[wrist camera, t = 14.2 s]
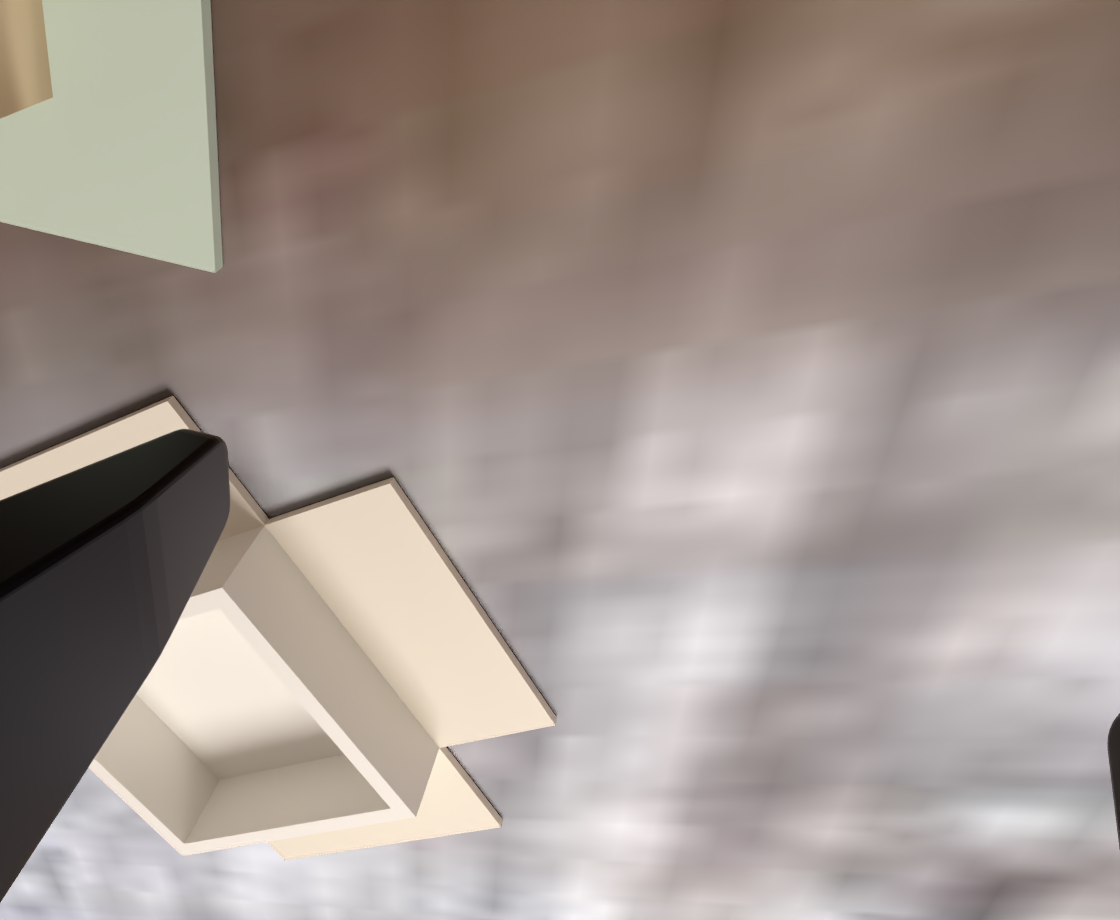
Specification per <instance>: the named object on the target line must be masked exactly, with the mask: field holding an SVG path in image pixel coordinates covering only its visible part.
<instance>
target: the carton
mask: <svg viewBox="0 0 1120 920" xmlns="http://www.w3.org/2000/svg"><path fill="white" fill-rule="evenodd" d="M179 429H190V430H194V431H198V432H201V431H200V429H199V428H198V427H197V426H196V424H195V423H194V422H193V420H192V419H191V418H190V417H189V415H188V414H187V413H186V411H185V410H184V409H183V408H182V406H181V405H180V404H179V402H178V401H177V400H176V399H175V397H174V396H171V397H168V398H166V399H164V400H161V401H159V402H157V403H154V404H152V405H149V406H147V407H145V408H142V409H140V410H138V411H135V412H133V413H131V414H128V415H126V416H124V417H121V418H119V419H117V420H114V421H112V422H110V423H107V424H105V425H102V426H100V427H98V428H95V429H93V430H91V431H88V432H86V433H84V434H81V435H79V436H77V437H74V438H72V439H70V440H67V441H65V442H63V443H60V444H58V445H55V446H53V447H51V448H48V449H46V450H44V451H41V452H39V453H37V454H34V455H32V456H30V457H27V458H25V459H23V460H20V461H18V462H15V463H13V464H11V465H8V466H6V467H4V468H1V469H0V500H2V499H5V498H7V497H10V496H12V495H15V494H17V493H20V492H22V491H25V490H27V489H30V488H32V487H35V486H37V485H40V484H42V483H45V482H47V481H50V480H52V479H55V478H57V477H60V476H62V475H65V474H67V473H70V472H72V471H75V470H77V469H80V468H83V467H85V466H88V465H90V464H93V463H95V462H98V461H100V460H103V459H105V458H108V457H110V456H113V455H115V454H118V453H120V452H123V451H125V450H128V449H130V448H133V447H135V446H138V445H140V444H143V443H145V442H148V441H150V440H153V439H155V438H158V437H160V436H163V435H165V434H168V433H170V432H173V431H176V430H179ZM229 484H230V512H229V516H228V520H227V523H226V526H225V528H224V530H223V532H222V534H221V536H220V538H219V540H218V542H217V544H216V546H215V548H214V550H213V552H212V554H211V556H210V558H209V560H208V562H207V564H206V566H205V568H204V570H203V572H202V574H201V576H200V578H199V580H198V582H197V584H196V586H195V588H194V590H193V592H192V594H191V597H190V599H189V601H188V603H187V605H186V607H185V609H184V611H183V613H182V615H181V617H180V619H179V621H178V623H177V625H176V627H175V629H174V631H173V633H172V635H171V637H170V639H169V640H168V642H167V644H166V646H165V648H164V650H163V652H162V654H161V655H160V657H159V659H158V660H157V662H156V664H155V665H154V667H153V668H152V670H151V672H150V673H149V675H148V677H147V678H146V680H145V681H144V683H143V684H142V686H141V687H140V689H139V690H138V692H137V694H136V695H135V697H134V698H133V700H132V701H131V703H130V704H129V706H128V707H127V709H126V710H125V712H124V713H123V715H122V717H121V718H120V720H119V721H118V723H117V724H116V726H115V727H114V729H113V730H112V732H111V733H110V735H109V736H108V738H107V740H106V741H105V743H104V744H103V746H102V747H101V749H100V750H99V752H98V753H97V755H96V756H95V758H94V760H93V761H92V763H91V764H90V766H89V767H88V768H89V769H90V770H91V771H93V772H94V773H95V774H96V775H97V776H98V777H99V778H100V779H101V780H102V781H103V782H104V783H105V784H106V785H107V786H109V787H110V788H111V789H112V790H113V791H114V792H115V793H116V794H117V795H118V796H119V797H120V798H121V799H122V800H123V801H125V802H126V803H127V804H128V805H129V806H130V807H131V808H132V809H133V810H134V811H135V812H136V813H137V814H138V815H139V816H140V817H142V818H143V819H144V820H145V821H146V822H147V823H148V824H149V825H150V826H151V827H152V828H153V829H154V830H155V831H156V832H158V833H159V834H160V835H161V836H162V837H163V838H164V839H165V840H166V841H167V842H168V843H169V844H170V845H171V846H172V847H174V848H175V849H176V850H177V851H178V852H179V853H180V854H181V855H182V856H185V855H191V854H197V853H203V852H209V851H215V850H221V849H227V848H233V847H239V846H245V845H251V844H257V843H263V842H267V843H268V844H269V845H270V846H271V847H272V848H273V849H274V850H275V851H276V852H277V853H278V854H279V855H280V856H281V857H282V858H283V859H284V860H290V859H297V858H303V857H310V856H316V855H323V854H329V853H336V852H342V851H349V850H355V849H362V848H368V847H375V846H381V845H388V844H394V843H401V842H407V841H414V840H420V839H427V838H433V837H440V836H446V835H453V834H459V833H466V832H472V831H479V830H485V829H492V828H498V827H501V826H502V822H503V819H502V818H501V817H500V815H499V814H498V813H497V812H496V810H495V809H494V808H493V806H492V805H491V804H490V803H489V801H488V800H487V799H486V797H485V796H484V795H483V794H482V792H481V791H480V790H479V788H478V787H477V786H476V785H475V783H474V782H473V781H472V779H471V778H470V777H469V776H468V774H467V773H466V772H465V770H464V769H463V768H462V767H461V765H460V764H459V763H458V761H457V760H456V759H455V758H454V756H453V755H452V754H451V752H450V751H449V750H448V748H447V746H452V745H457V744H462V743H467V742H473V741H478V740H483V739H488V738H493V737H498V736H503V735H508V734H513V733H518V732H523V731H528V730H533V729H538V728H544V727H549V726H554V725H555V724H556V720H557V717H556V716H555V714H554V713H553V711H552V710H551V709H550V707H549V706H548V704H547V703H546V701H545V700H544V698H543V697H542V695H541V694H540V692H539V691H538V689H537V688H536V686H535V685H534V683H533V682H532V680H531V679H530V678H529V676H528V675H527V673H526V672H525V670H524V669H523V667H522V666H521V664H520V663H519V661H518V660H517V658H516V657H515V655H514V654H513V652H512V651H511V650H510V648H509V647H508V645H507V644H506V642H505V641H504V639H503V638H502V636H501V635H500V633H499V632H498V630H497V629H496V627H495V626H494V624H493V623H492V622H491V620H490V619H489V617H488V616H487V614H486V613H485V611H484V610H483V608H482V607H481V605H480V604H479V602H478V601H477V599H476V598H475V596H474V595H473V594H472V592H471V591H470V589H469V588H468V586H467V585H466V583H465V582H464V580H463V579H462V577H461V576H460V574H459V573H458V571H457V570H456V568H455V567H454V566H453V564H452V563H451V561H450V560H449V558H448V557H447V555H446V554H445V552H444V551H443V549H442V548H441V546H440V545H439V543H438V542H437V540H436V539H435V538H434V536H433V535H432V533H431V532H430V530H429V529H428V527H427V526H426V524H425V523H424V521H423V520H422V518H421V517H420V515H419V514H418V512H417V511H416V510H415V508H414V507H413V505H412V504H411V502H410V501H409V499H408V498H407V496H406V495H405V493H404V492H403V490H402V489H401V487H400V486H399V484H398V483H397V482H396V480H395V479H394V477H392V478H389V479H386V480H383V481H380V482H377V483H374V484H371V485H368V486H365V487H362V488H359V489H356V490H353V491H350V492H348V493H345V494H342V495H339V496H336V497H333V498H330V499H327V500H324V501H321V502H318V503H315V504H312V505H309V506H306V507H303V508H300V509H297V510H294V511H291V512H288V513H285V514H282V515H279V516H276V517H273V518H270V519H269V518H268V517H267V516H266V514H265V513H264V512H263V511H262V509H261V508H260V507H259V505H258V504H257V503H256V502H255V500H254V499H253V498H252V496H251V495H250V494H249V493H248V491H247V490H246V489H245V487H244V486H243V485H242V484H241V482H240V481H239V480H238V478H237V477H236V476H235V475H234V473H233V472H232V471H231V469H230V468H229Z"/></svg>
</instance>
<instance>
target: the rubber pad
mask: <svg viewBox="0 0 1120 920" xmlns="http://www.w3.org/2000/svg"><path fill="white" fill-rule="evenodd" d="M42 6H43V14H44V23H45V32H46V41H47V50H48V58H49V67H50V76H51V85H52V93H53V98H50V99H48V100H45V101H43V102H40V103H38V104H35V105H33V106H30V107H28V108H25V109H23V110H20V111H18V112H15V113H13V114H11V115H8V116H6V117H3V118H1V119H0V222H4V223H8V224H12V225H16V226H20V227H25V228H29V229H33V230H37V231H41V232H46V233H50V234H54V235H58V236H62V237H67V238H71V239H75V240H79V241H83V242H88V243H92V244H96V245H100V246H104V247H109V248H113V249H117V250H121V251H125V252H130V253H134V254H138V255H142V256H146V257H150V258H155V259H159V260H163V261H167V262H171V263H176V264H180V265H184V266H188V267H192V268H197V269H201V270H205V271H209V272H213V273H216V272H217V271H218V270H219V269H221V268H222V267H223V257H222V236H221V215H220V194H219V172H218V151H217V130H216V108H215V87H214V66H213V45H212V23H211V2H210V0H42Z"/></svg>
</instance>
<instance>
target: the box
mask: <svg viewBox="0 0 1120 920" xmlns="http://www.w3.org/2000/svg"><path fill="white" fill-rule="evenodd" d="M50 98H53V93H52V85H51V76H50V67H49V58H48V50H47V41H46V32H45V23H44V14H43V6H42V0H0V119H1V118H3V117H6V116H8V115H11V114H13V113H15V112H18V111H20V110H23V109H25V108H28V107H30V106H33V105H35V104H38V103H40V102H43V101H45V100H48V99H50Z"/></svg>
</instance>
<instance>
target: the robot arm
mask: <svg viewBox="0 0 1120 920" xmlns="http://www.w3.org/2000/svg"><path fill="white" fill-rule="evenodd" d="M229 512H230V484H229V465H228V451H227V446H226V444H225V442H224V441H223V440H222V439H221V438H220V437H218V436H214V435H210V434H206V433H202V432H198V431H194V430H190V429H179V430H176V431H173V432H170V433H168V434H165V435H163V436H160V437H158V438H155V439H153V440H150V441H148V442H145V443H143V444H140V445H138V446H135V447H133V448H130V449H128V450H125V451H123V452H120V453H118V454H115V455H113V456H110V457H108V458H105V459H103V460H100V461H98V462H95V463H93V464H90V465H88V466H85V467H83V468H80V469H77V470H75V471H72V472H70V473H67V474H65V475H62V476H60V477H57V478H55V479H52V480H50V481H47V482H45V483H42V484H40V485H37V486H35V487H32V488H30V489H27V490H25V491H22V492H20V493H17V494H15V495H12V496H10V497H7V498H5V499H2V500H0V902H1V901H2V899H3V898H4V896H5V895H6V893H7V891H8V890H9V888H10V887H11V885H12V884H13V882H14V881H15V879H16V878H17V876H18V875H19V873H20V872H21V870H22V868H23V867H24V865H25V864H26V862H27V861H28V859H29V858H30V856H31V855H32V853H33V852H34V850H35V848H36V847H37V845H38V844H39V842H40V841H41V839H42V838H43V836H44V835H45V833H46V832H47V830H48V829H49V827H50V825H51V824H52V822H53V821H54V819H55V818H56V816H57V815H58V813H59V812H60V810H61V809H62V807H63V806H64V804H65V802H66V801H67V799H68V798H69V796H70V795H71V793H72V792H73V790H74V789H75V787H76V786H77V784H78V783H79V781H80V779H81V778H82V776H83V775H84V773H85V772H86V770H87V769H88V767H89V766H90V764H91V763H92V761H93V760H94V758H95V756H96V755H97V753H98V752H99V750H100V749H101V747H102V746H103V744H104V743H105V741H106V740H107V738H108V736H109V735H110V733H111V732H112V730H113V729H114V727H115V726H116V724H117V723H118V721H119V720H120V718H121V717H122V715H123V713H124V712H125V710H126V709H127V707H128V706H129V704H130V703H131V701H132V700H133V698H134V697H135V695H136V694H137V692H138V690H139V689H140V687H141V686H142V684H143V683H144V681H145V680H146V678H147V677H148V675H149V673H150V672H151V670H152V668H153V667H154V665H155V664H156V662H157V660H158V659H159V657H160V655H161V654H162V652H163V650H164V648H165V646H166V644H167V642H168V640H169V639H170V637H171V635H172V633H173V631H174V629H175V627H176V625H177V623H178V621H179V619H180V617H181V615H182V613H183V611H184V609H185V607H186V605H187V603H188V601H189V599H190V597H191V594H192V592H193V590H194V588H195V586H196V584H197V582H198V580H199V578H200V576H201V574H202V572H203V570H204V568H205V566H206V564H207V562H208V560H209V558H210V556H211V554H212V552H213V550H214V548H215V546H216V544H217V542H218V540H219V538H220V536H221V534H222V532H223V530H224V528H225V526H226V523H227V520H228V516H229ZM1108 756H1109V764H1110V772H1111V781H1112V789H1113V797H1114V806H1115V814H1116V823H1117V831H1118V839H1119V848H1120V714H1119V715H1118V716H1117V717H1116V719H1115V720H1114V722H1113V724H1112V726H1111V728H1110V731H1109V735H1108Z"/></svg>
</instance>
